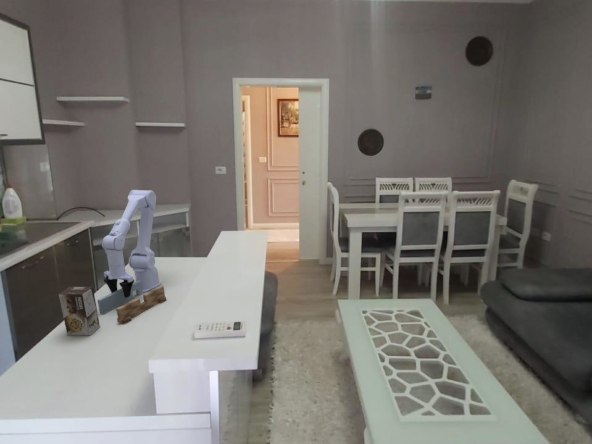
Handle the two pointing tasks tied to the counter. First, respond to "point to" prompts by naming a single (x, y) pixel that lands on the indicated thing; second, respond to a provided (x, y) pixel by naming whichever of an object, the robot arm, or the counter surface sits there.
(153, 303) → the walnut slotted plate
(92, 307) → the coffee box
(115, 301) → the grey notched plate
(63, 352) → the counter surface
